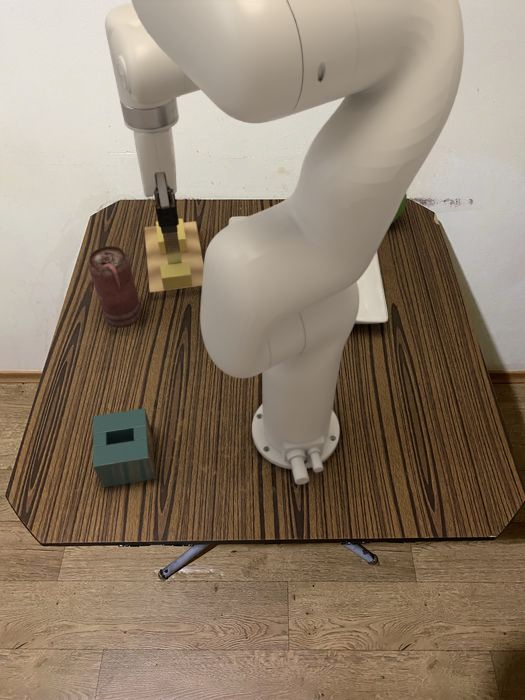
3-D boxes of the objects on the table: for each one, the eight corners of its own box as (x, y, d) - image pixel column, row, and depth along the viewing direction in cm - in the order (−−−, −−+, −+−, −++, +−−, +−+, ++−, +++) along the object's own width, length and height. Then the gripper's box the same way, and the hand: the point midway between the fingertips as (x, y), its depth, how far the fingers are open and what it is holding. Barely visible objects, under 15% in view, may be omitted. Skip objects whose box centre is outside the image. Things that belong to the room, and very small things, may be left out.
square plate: (386, 336, 95) (390, 320, 92) (220, 334, 95) (219, 318, 92) (370, 231, 112) (373, 214, 109) (229, 229, 112) (229, 213, 109)
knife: (183, 268, 99) (172, 195, 88) (168, 270, 99) (155, 197, 88) (182, 259, 101) (171, 186, 89) (167, 261, 101) (154, 188, 89)
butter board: (207, 290, 102) (207, 284, 101) (150, 298, 101) (149, 292, 99) (196, 227, 113) (195, 221, 112) (145, 233, 112) (144, 227, 111)
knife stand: (155, 479, 79) (148, 457, 74) (103, 487, 78) (92, 466, 73) (151, 431, 84) (144, 408, 79) (102, 438, 83) (93, 415, 78)
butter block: (187, 251, 106) (185, 238, 104) (160, 254, 106) (157, 242, 103) (184, 231, 110) (182, 218, 108) (158, 234, 109) (155, 221, 107)
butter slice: (192, 286, 100) (190, 274, 98) (163, 289, 100) (161, 278, 97) (190, 273, 102) (189, 261, 100) (162, 276, 102) (160, 265, 99)
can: (119, 340, 95) (100, 277, 84) (100, 318, 98) (79, 255, 87) (150, 322, 97) (135, 259, 86) (130, 301, 100) (114, 238, 89)
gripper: (120, 84, 83) (142, 192, 97) (123, 143, 73) (147, 254, 87) (172, 79, 84) (186, 187, 98) (183, 136, 74) (196, 248, 88)
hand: (168, 218), depth 92 cm, fingers closed on knife, 2 cm apart
